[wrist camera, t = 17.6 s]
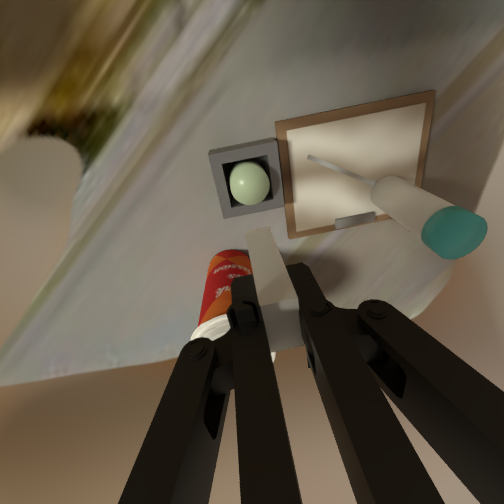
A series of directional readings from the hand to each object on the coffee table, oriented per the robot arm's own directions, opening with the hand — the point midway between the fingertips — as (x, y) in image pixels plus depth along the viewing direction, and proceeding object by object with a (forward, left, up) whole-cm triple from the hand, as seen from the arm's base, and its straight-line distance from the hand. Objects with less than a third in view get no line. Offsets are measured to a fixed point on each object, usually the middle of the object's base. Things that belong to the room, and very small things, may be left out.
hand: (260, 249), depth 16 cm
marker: (+5, +17, -16) cm, 24 cm away
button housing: (0, +1, -17) cm, 17 cm away
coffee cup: (+12, -4, -17) cm, 21 cm away
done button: (0, +1, -16) cm, 16 cm away
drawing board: (+2, +13, -17) cm, 22 cm away
